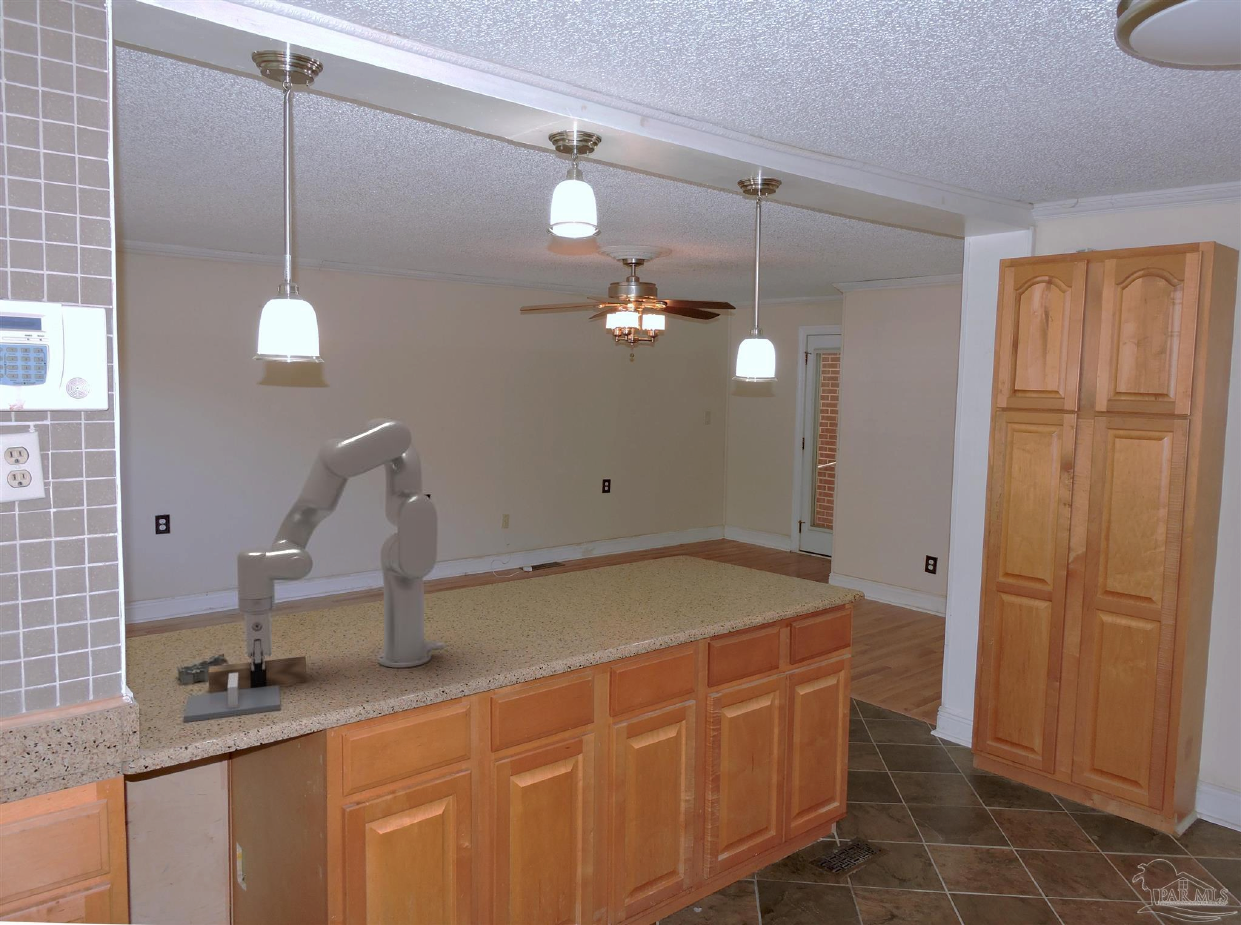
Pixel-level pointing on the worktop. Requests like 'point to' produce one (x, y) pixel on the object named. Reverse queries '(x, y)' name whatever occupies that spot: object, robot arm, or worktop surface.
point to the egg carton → (200, 669)
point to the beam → (276, 674)
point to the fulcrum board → (221, 703)
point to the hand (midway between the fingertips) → (258, 682)
